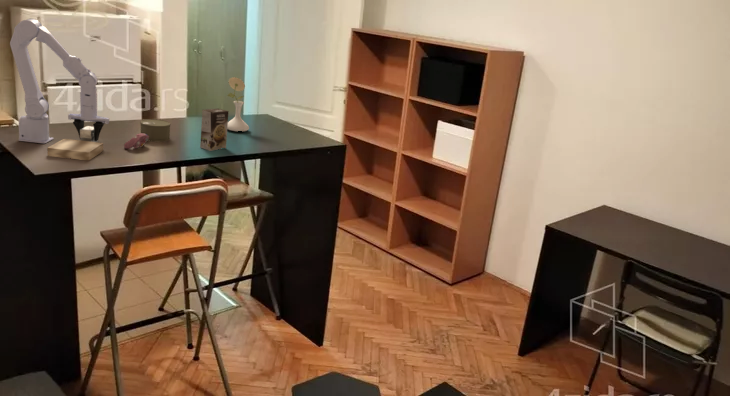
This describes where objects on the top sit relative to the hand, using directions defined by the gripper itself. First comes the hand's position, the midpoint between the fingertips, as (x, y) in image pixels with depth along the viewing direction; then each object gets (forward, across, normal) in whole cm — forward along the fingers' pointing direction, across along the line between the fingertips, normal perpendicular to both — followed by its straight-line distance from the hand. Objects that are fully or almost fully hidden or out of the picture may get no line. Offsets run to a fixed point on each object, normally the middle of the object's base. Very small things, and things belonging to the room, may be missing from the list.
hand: (89, 139), depth 225 cm
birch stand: (+1, -1, +15) cm, 15 cm away
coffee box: (+2, -45, -14) cm, 47 cm away
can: (+2, -20, -19) cm, 28 cm away
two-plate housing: (+2, 0, 0) cm, 2 cm away
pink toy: (+2, -17, -2) cm, 18 cm away
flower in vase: (+2, -49, -51) cm, 71 cm away
